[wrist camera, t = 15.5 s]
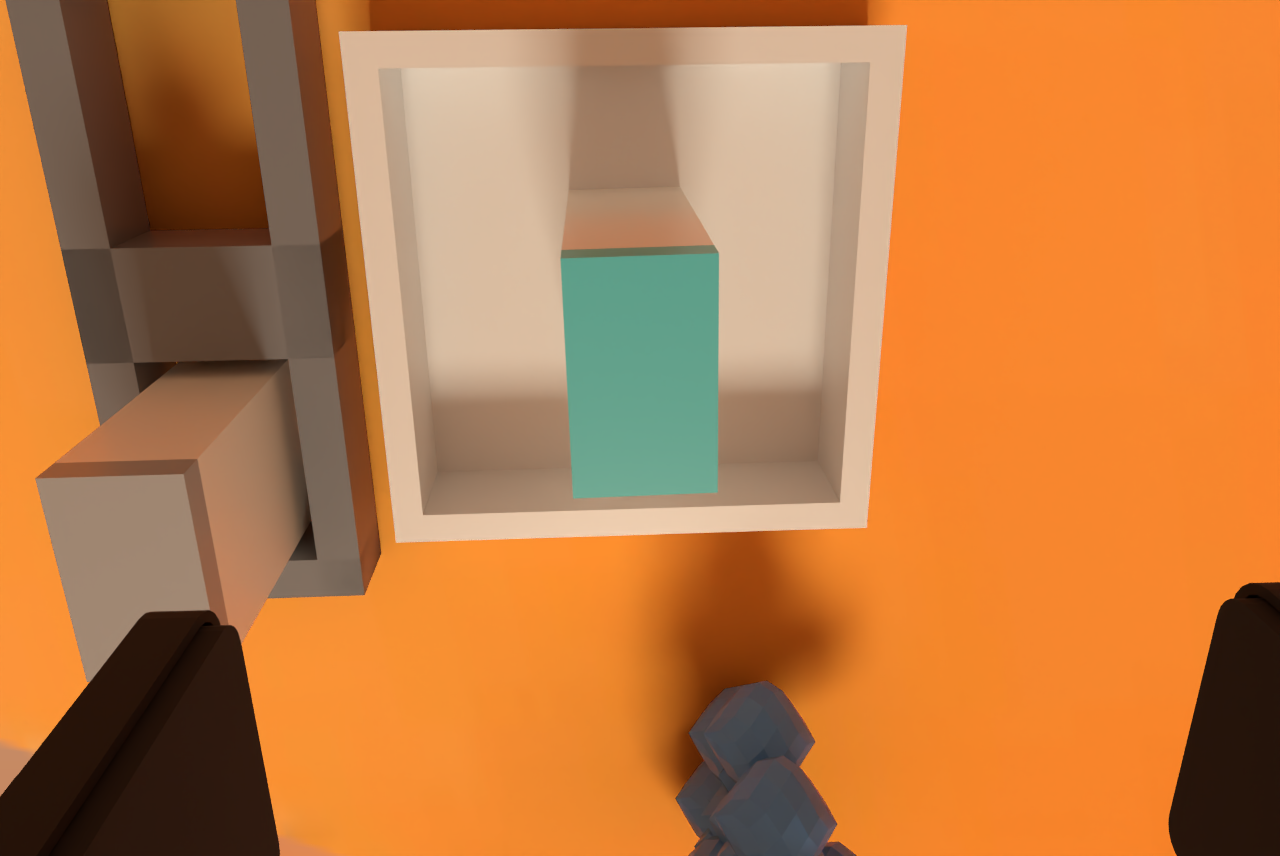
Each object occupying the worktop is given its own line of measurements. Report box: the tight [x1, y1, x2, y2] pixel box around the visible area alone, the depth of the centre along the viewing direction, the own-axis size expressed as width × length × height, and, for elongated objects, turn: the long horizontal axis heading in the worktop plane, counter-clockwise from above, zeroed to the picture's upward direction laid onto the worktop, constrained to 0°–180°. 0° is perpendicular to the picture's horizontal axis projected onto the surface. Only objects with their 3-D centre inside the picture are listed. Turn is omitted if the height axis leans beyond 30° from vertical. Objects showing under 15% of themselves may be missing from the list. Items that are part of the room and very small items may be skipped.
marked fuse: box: [560, 187, 719, 499], centre depth 24 cm, size 5×3×9 cm, turn 1°
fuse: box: [35, 359, 311, 682], centre depth 26 cm, size 5×3×9 cm, turn 1°
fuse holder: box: [6, 0, 381, 598], centre depth 27 cm, size 17×6×2 cm, turn 1°
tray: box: [339, 25, 907, 543], centre depth 27 cm, size 13×13×4 cm
